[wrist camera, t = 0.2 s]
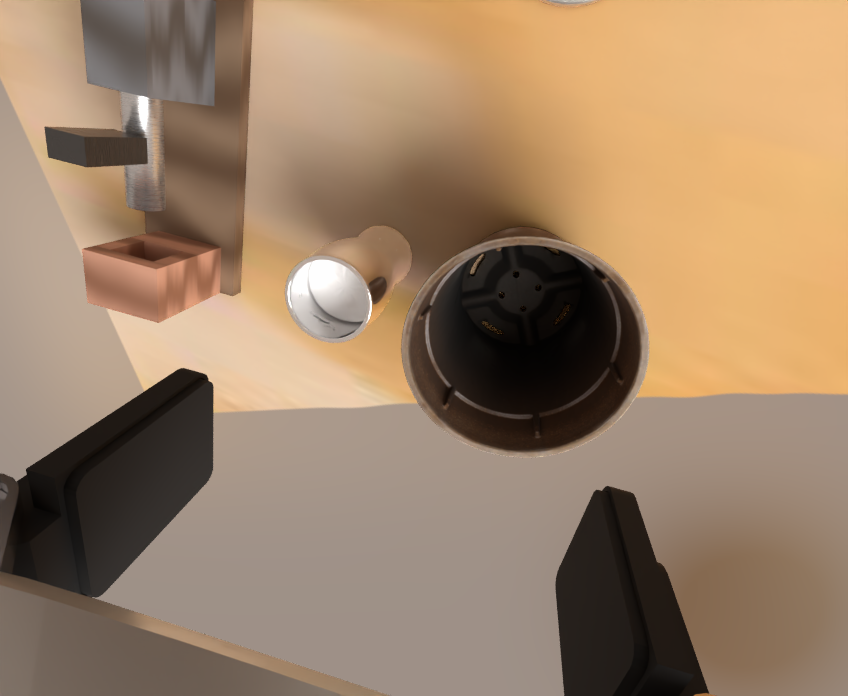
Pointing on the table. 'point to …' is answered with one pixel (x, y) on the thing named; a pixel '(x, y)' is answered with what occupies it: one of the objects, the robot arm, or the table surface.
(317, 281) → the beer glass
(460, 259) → the plant pot
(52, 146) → the tube
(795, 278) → the table surface
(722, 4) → the table surface
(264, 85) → the table surface
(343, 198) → the table surface
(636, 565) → the robot arm
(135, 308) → the tube rig
